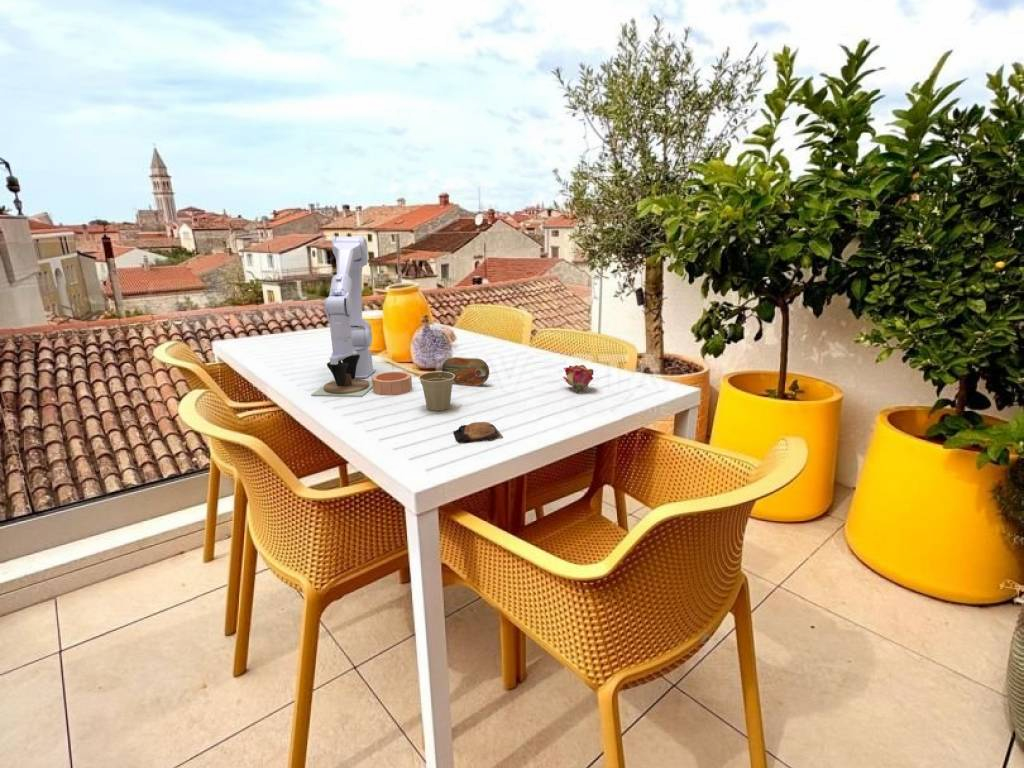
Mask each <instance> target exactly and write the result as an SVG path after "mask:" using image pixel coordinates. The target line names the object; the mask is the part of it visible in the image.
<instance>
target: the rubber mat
mask: <svg viewBox="0 0 1024 768" xmlns="http://www.w3.org/2000/svg"><path fill="white" fill-rule="evenodd" d="M332 381H335V379H332V380H331V381H330V382H332ZM366 381H368V382H369V387H368V388H367V389H365V390H362V391H359V392H355V393H348V394H332V393H327V392H325V391H324V385H323V386H322V387H320V388H319V389H316V391H314V392H312V393H311V394H310V395H311V397H345V398H346V397H351V398H352V397H354V398H355V397H356V398H359V397H360V398H363V397H364V396H365V395H366V394H367V393H368V392H370V391H371V390H373V384H372V380H366Z"/></svg>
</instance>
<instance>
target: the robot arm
mask: <svg viewBox="0 0 1024 768" xmlns="http://www.w3.org/2000/svg"><path fill="white" fill-rule="evenodd" d="M331 250H332V254H333V255H334V257H335V260H336V261H337V262H336V274H335V275H333V276H332V278H331V283H330V289H329V294H328V297H326V298H325V299H324V310H325V314H326V317H327V322H328V323H329V331H330V339H331V347H332V352H331V356H330V357H329V362H327V363H326V367H327V368H328V369H329V370H330V372H331V374H332V376H333V378H334V379H333V380H335V381H336V384H337V386H345V382H346V374H351V379H367V378H369V377H370V376H371V375H372V374H373V373H374V372H376V371H377V370H376V369H374V367H373V357H372V355H373V354H372V351H371V349H370V348H371V346H372V344H373V332H372V326H371V324H370V323H369V321H367V320H365V319H364V318H363V294H362V293H363V291H362V290H363V289H362V288H363V287H362V286H363V282H362V279H363V278H362V277H363V276H362V274H363V273H362V272H363V267H365V266H367V265H368V260H369V256H368V255H369V251H368V250H369V248H368V242H367V239H366V237H365V236H364V235H361V236H337V235H334V236H333V238H332V239H331Z"/></svg>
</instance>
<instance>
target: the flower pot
mask: <svg viewBox="0 0 1024 768" xmlns="http://www.w3.org/2000/svg"><path fill="white" fill-rule="evenodd" d="M454 378H455V375H454V374H453V373H449V372H442V370H441V371H430V372H424V373H422V374H420V375H419V376H418V380H420V384H421V387H422V389H423V394H424V400H425V405H426V409H428V410H431V411H434V412H435V411H438V410H439V411H444V410H448V409H449V408H450V407H451V399H452V389H453V384H452V383H453V380H454Z"/></svg>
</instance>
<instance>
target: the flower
mask: <svg viewBox="0 0 1024 768" xmlns="http://www.w3.org/2000/svg"><path fill="white" fill-rule="evenodd" d="M563 369H564V372H565V376H562V378H563V380H564V382H566V383H567V384H568V385H569V386H571V387H572V388H574V389H575V393H576V394H578V393H579V391H580V390H582V391H583V390H587V388H589V387H590V386H592V385H594V383H592V384H590V383H591V381H592V380H594V377H593V375H594V369H593V368H587V367H586V365H584V364H581V365H578V364H577V365H571V364H570V365H569V366H568V367H567V366H566V367H563Z"/></svg>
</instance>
